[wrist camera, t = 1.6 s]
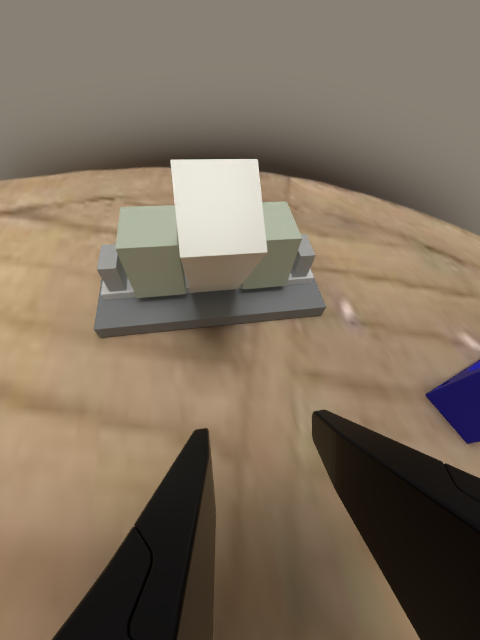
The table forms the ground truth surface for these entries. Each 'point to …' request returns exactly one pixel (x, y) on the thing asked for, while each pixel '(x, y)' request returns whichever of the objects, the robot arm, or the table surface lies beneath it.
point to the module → (218, 221)
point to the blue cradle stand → (461, 402)
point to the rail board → (172, 287)
